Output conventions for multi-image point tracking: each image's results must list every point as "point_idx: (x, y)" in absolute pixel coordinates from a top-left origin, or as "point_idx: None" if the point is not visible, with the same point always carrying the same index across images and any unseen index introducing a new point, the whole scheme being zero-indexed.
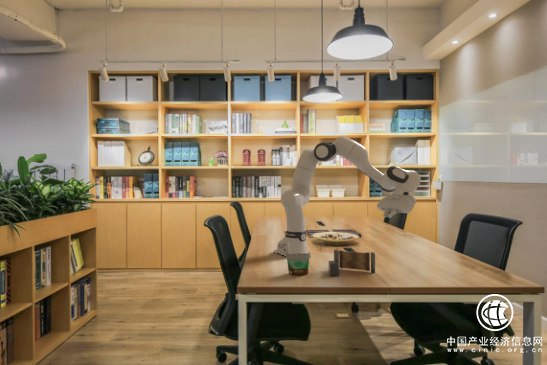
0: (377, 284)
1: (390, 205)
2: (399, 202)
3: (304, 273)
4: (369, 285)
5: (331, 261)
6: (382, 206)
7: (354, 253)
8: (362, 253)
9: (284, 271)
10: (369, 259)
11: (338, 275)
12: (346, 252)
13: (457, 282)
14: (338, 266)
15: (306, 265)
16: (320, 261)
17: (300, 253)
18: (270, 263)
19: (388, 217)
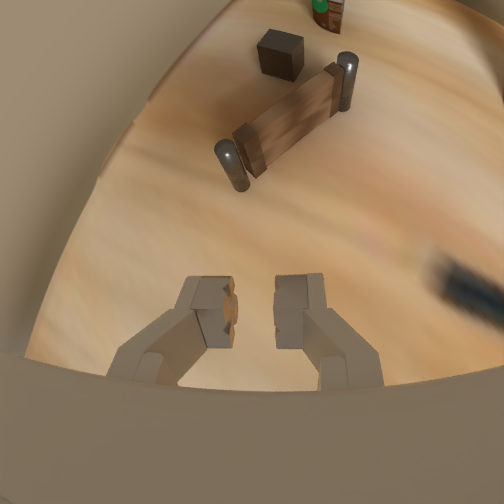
0: (148, 126)
1: (235, 448)
2: (8, 497)
3: (314, 16)
4: (155, 105)
5: (290, 39)
6: (480, 375)
7: (285, 98)
8: (257, 117)
9: (364, 6)
10: (242, 152)
11: (262, 70)
12: (311, 79)
13: (55, 343)
14: (258, 51)
15: (315, 5)
16: (447, 119)
17: None
18: (445, 20)
19: (235, 301)
